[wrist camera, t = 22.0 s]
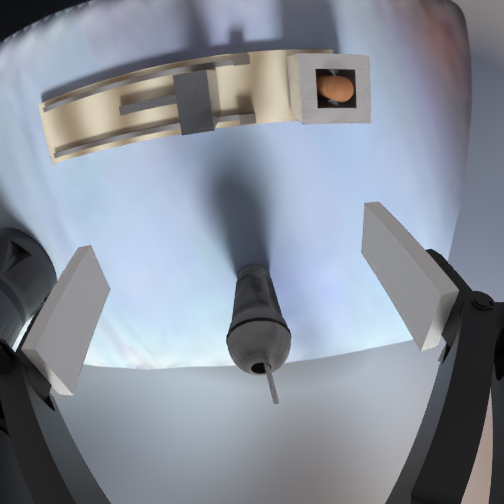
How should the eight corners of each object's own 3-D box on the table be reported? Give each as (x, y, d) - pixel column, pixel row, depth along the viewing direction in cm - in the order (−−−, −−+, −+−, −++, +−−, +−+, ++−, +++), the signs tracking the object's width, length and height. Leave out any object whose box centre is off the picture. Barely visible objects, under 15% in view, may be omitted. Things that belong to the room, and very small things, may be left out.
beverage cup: (218, 266, 42) (211, 397, 25) (269, 248, 41) (290, 377, 24) (240, 303, 46) (244, 426, 29) (286, 287, 45) (310, 411, 28)
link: (291, 115, 30) (302, 124, 25) (286, 56, 27) (297, 53, 22) (349, 113, 30) (370, 123, 25) (346, 57, 26) (369, 55, 21)
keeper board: (57, 160, 32) (17, 188, 25) (43, 102, 28) (-2, 118, 20) (333, 117, 32) (363, 134, 24) (329, 50, 28) (361, 44, 20)
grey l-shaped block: (125, 129, 30) (84, 156, 21) (118, 90, 27) (72, 102, 19) (221, 112, 30) (214, 130, 21) (216, 70, 27) (206, 69, 19)
